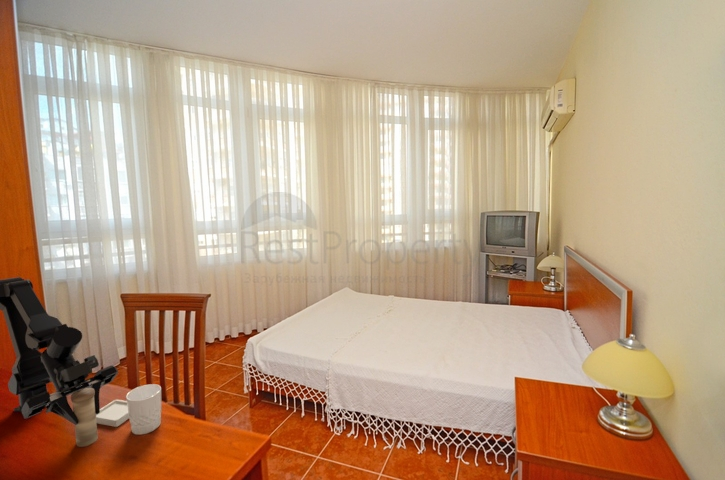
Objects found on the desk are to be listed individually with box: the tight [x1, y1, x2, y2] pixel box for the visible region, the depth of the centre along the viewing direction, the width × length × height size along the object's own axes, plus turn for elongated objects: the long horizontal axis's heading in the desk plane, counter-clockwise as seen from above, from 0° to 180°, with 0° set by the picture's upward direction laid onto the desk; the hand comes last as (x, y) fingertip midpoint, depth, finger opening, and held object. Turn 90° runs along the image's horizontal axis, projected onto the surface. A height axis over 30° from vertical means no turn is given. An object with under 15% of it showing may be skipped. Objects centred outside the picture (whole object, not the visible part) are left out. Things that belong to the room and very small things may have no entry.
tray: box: [96, 398, 130, 428], centre depth 97 cm, size 9×8×2 cm
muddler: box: [70, 388, 99, 448], centre depth 86 cm, size 5×5×13 cm
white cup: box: [125, 383, 162, 436], centre depth 92 cm, size 8×8×10 cm
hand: (88, 418), depth 86 cm, fingers closed on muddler, 4 cm apart
